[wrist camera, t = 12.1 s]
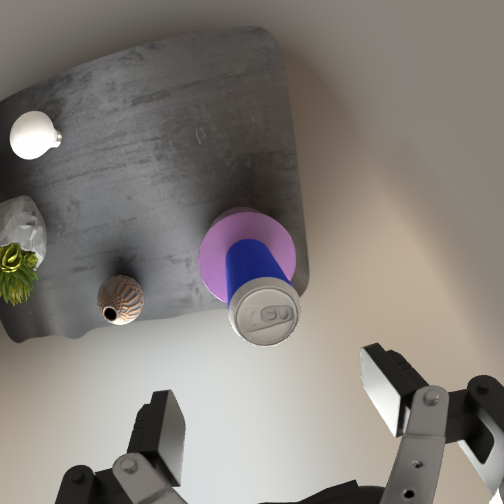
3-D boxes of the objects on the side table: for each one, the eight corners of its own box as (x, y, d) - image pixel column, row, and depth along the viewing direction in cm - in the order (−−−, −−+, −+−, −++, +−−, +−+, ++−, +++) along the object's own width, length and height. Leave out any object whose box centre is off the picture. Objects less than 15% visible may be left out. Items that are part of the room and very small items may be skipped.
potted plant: (49, 189, 39) (66, 292, 39) (33, 216, 47) (48, 299, 47) (-26, 197, 30) (-11, 309, 29) (-26, 225, 38) (-12, 314, 38)
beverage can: (228, 285, 36) (234, 355, 22) (222, 240, 35) (223, 287, 21) (273, 279, 37) (306, 344, 22) (268, 234, 36) (302, 276, 21)
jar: (271, 196, 46) (287, 203, 35) (284, 268, 49) (302, 295, 38) (196, 211, 46) (188, 223, 34) (212, 283, 48) (210, 315, 37)
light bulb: (59, 168, 42) (21, 168, 31) (33, 146, 40) (-6, 143, 30) (82, 131, 41) (47, 122, 30) (54, 111, 39) (18, 99, 29)
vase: (100, 297, 47) (80, 320, 39) (116, 261, 46) (96, 279, 38) (137, 319, 48) (123, 345, 40) (155, 284, 47) (142, 306, 39)
